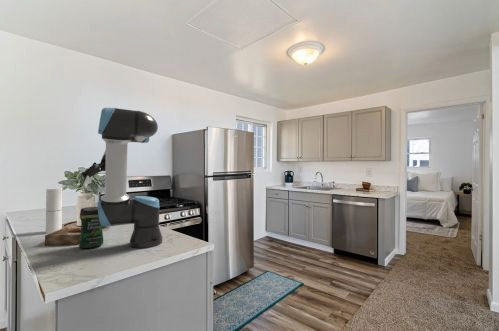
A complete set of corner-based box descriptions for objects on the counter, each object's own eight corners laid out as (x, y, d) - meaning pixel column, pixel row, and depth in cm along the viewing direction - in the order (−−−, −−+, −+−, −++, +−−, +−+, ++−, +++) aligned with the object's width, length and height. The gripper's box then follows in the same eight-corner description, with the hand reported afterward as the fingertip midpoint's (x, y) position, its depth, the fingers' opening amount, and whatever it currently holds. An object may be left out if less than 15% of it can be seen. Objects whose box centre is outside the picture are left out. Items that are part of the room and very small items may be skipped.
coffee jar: (81, 250, 108) (81, 208, 110) (77, 247, 114) (77, 207, 115) (105, 245, 115) (105, 206, 116) (101, 242, 121) (101, 205, 122)
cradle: (96, 235, 133) (96, 226, 133) (80, 244, 118) (80, 234, 118) (65, 236, 131) (65, 227, 131) (44, 245, 116) (45, 235, 116)
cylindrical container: (52, 234, 135) (53, 189, 135) (42, 233, 136) (42, 189, 136) (64, 230, 142) (65, 188, 142) (54, 230, 143) (55, 187, 143)
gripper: (134, 163, 145) (126, 191, 131) (88, 161, 141) (74, 191, 127) (131, 154, 140) (123, 183, 126) (84, 152, 135) (69, 182, 121)
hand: (98, 187), depth 126 cm, fingers open, 13 cm apart
